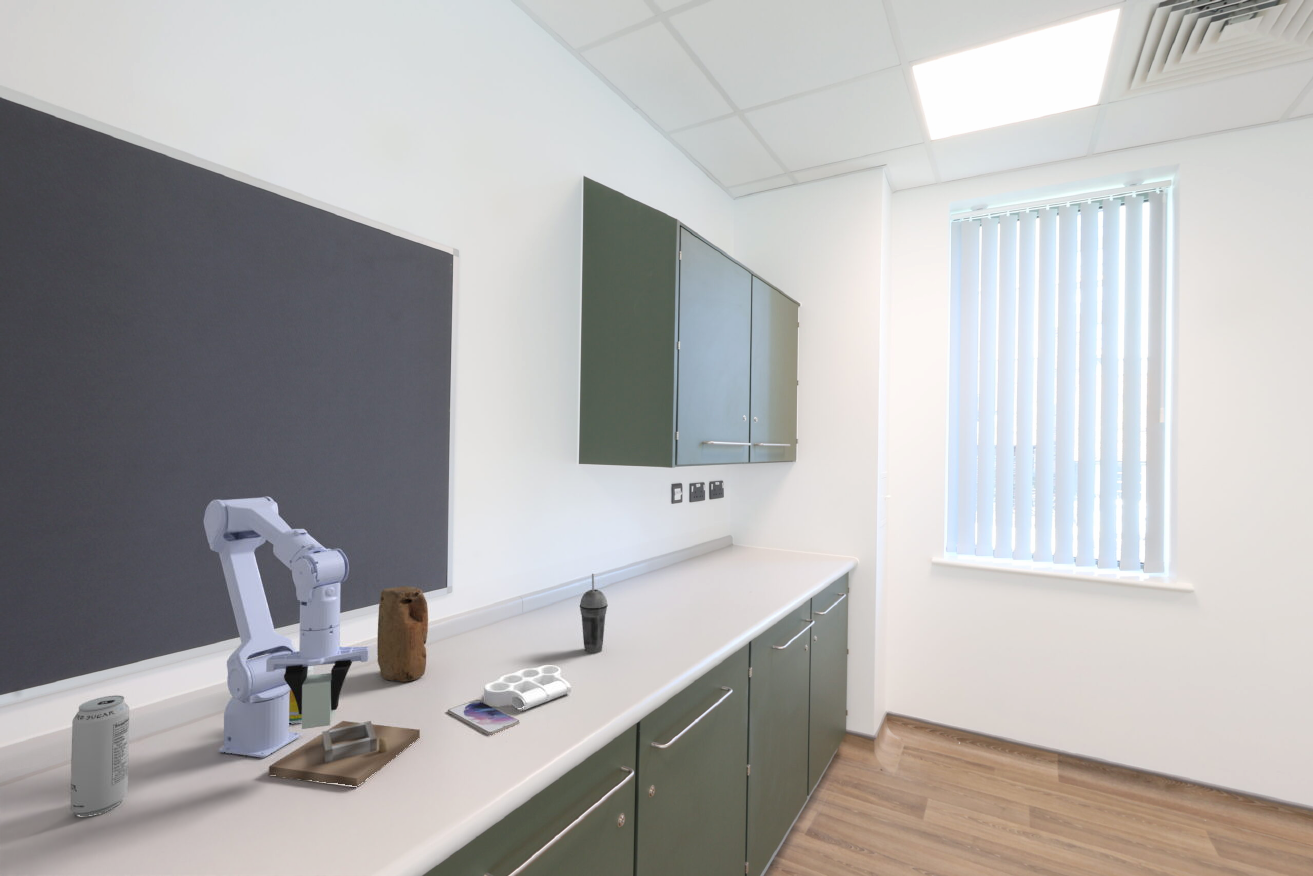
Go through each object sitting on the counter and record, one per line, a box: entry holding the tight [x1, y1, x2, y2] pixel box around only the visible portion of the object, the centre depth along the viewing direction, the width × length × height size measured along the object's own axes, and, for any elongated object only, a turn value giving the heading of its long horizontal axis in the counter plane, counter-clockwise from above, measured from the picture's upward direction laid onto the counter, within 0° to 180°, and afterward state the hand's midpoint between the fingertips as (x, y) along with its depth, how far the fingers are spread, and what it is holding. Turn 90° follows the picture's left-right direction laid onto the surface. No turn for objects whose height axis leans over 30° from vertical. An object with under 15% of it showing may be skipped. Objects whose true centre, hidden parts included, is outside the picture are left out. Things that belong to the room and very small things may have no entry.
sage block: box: [301, 672, 336, 730], centre depth 96 cm, size 4×4×7 cm
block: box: [376, 585, 429, 683], centre depth 135 cm, size 11×8×20 cm
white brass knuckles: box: [483, 664, 572, 712], centre depth 125 cm, size 3×18×15 cm
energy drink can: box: [69, 694, 130, 816], centre depth 85 cm, size 6×6×15 cm
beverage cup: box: [579, 573, 608, 654], centre depth 152 cm, size 7×7×20 cm
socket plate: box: [268, 720, 421, 786], centre depth 100 cm, size 16×16×4 cm
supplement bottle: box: [289, 666, 314, 725], centre depth 113 cm, size 5×5×10 cm
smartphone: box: [446, 699, 521, 736], centre depth 114 cm, size 7×1×15 cm
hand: (318, 709), depth 96 cm, fingers closed on sage block, 4 cm apart
